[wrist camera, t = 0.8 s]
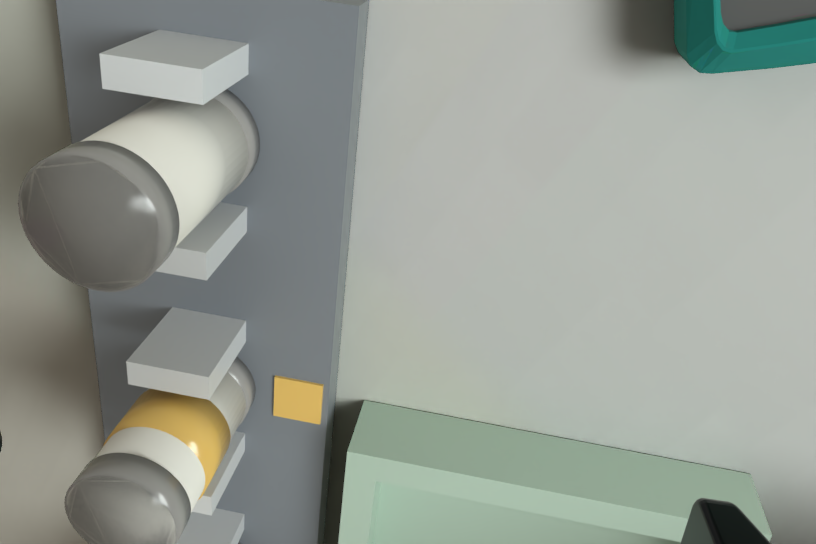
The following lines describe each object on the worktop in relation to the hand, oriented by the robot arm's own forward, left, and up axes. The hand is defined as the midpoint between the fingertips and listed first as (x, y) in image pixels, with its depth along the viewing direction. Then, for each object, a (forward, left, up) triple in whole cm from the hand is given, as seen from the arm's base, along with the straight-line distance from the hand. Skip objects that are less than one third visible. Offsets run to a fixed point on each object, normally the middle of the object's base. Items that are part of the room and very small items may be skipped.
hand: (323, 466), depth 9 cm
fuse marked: (+6, +9, -12) cm, 16 cm away
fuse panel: (+6, +9, -13) cm, 17 cm away
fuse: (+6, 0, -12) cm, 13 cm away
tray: (-5, +16, -13) cm, 21 cm away
